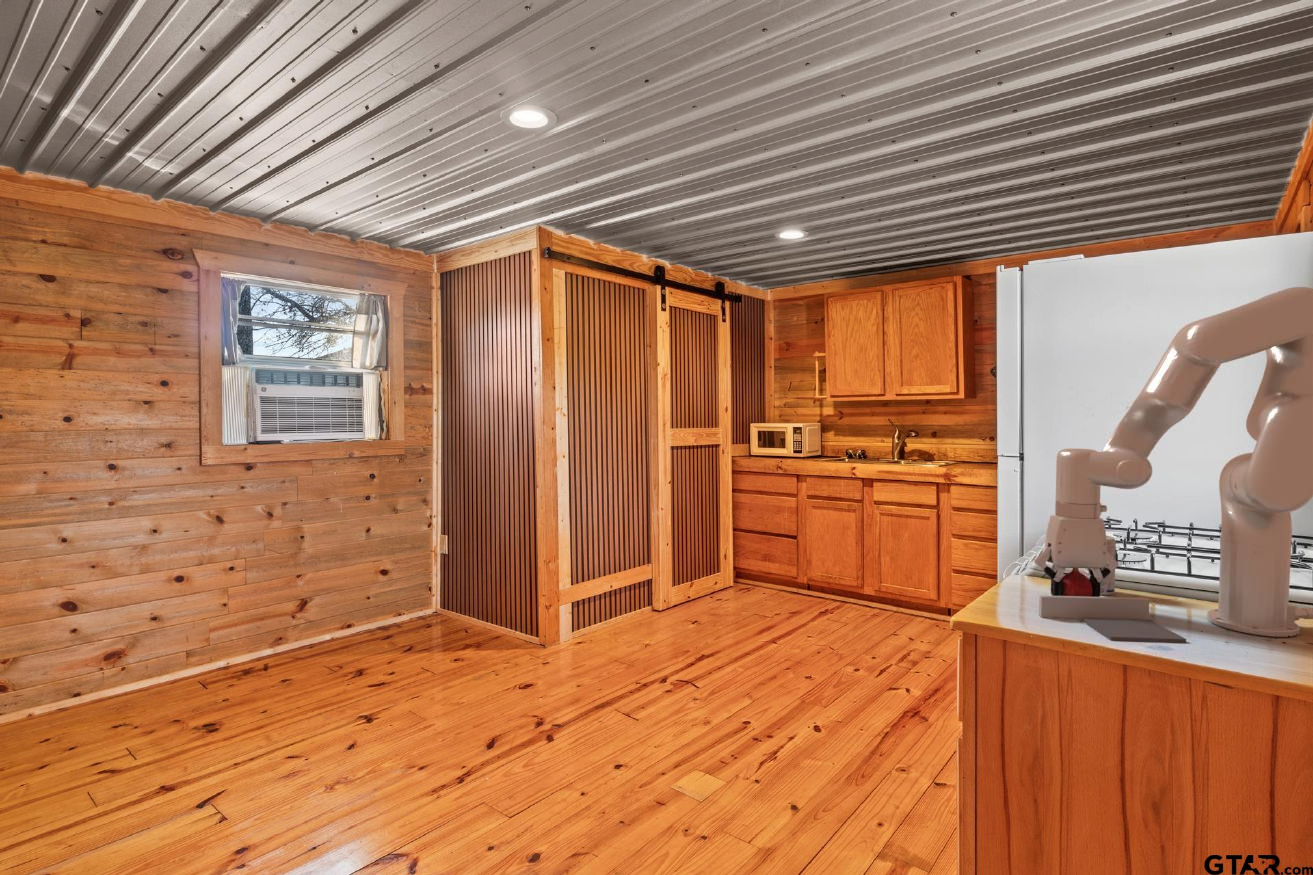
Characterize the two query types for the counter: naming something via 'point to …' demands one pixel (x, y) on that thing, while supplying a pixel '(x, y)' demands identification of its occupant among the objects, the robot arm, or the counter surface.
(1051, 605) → the low wall
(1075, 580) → the onion
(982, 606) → the counter surface
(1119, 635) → the rubber mat
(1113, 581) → the energy drink
